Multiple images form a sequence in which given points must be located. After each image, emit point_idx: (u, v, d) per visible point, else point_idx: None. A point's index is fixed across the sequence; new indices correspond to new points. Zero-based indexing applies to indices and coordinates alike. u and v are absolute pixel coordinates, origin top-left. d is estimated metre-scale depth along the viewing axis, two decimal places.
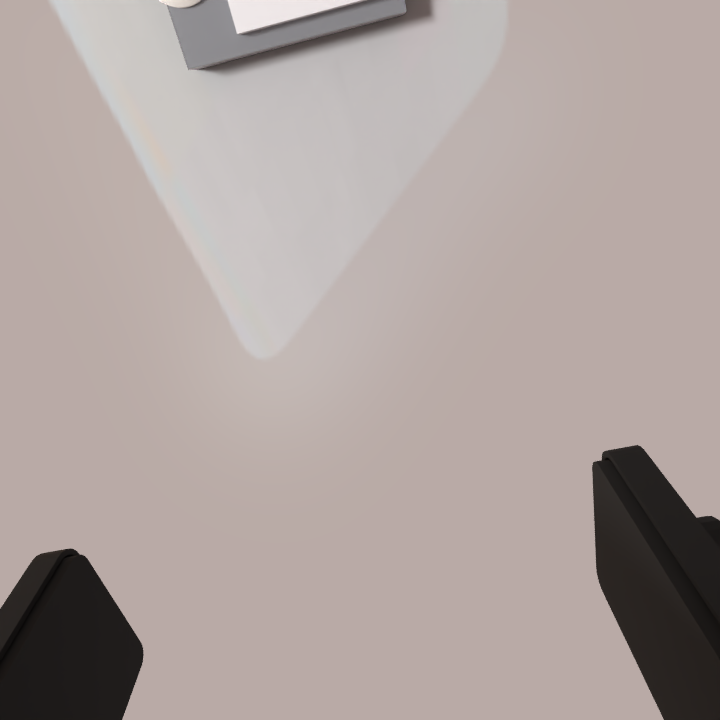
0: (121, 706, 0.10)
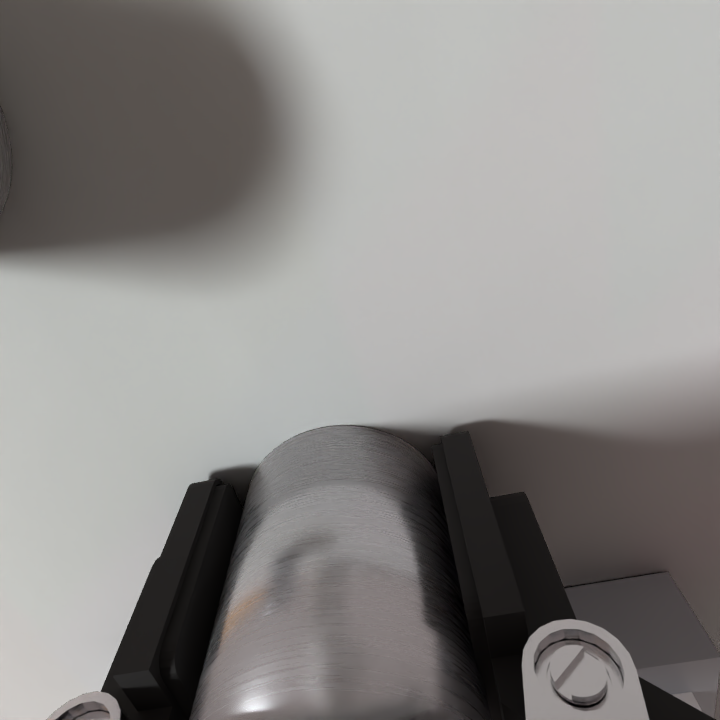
0: None
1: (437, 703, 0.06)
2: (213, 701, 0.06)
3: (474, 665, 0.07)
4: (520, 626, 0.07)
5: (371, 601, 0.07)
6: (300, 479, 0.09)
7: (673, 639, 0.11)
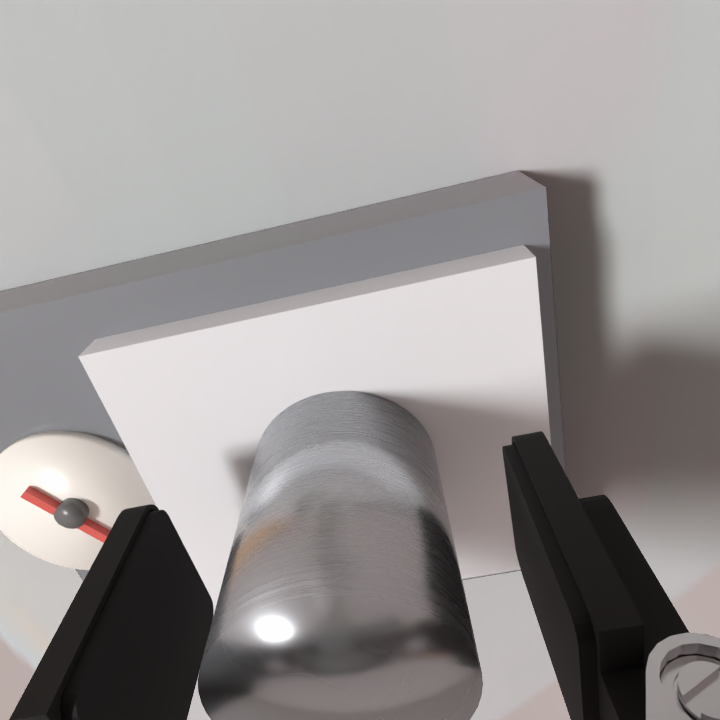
0: (199, 654, 0.10)
1: (425, 609, 0.07)
2: (231, 612, 0.07)
3: (459, 589, 0.08)
4: (637, 640, 0.06)
5: (369, 529, 0.08)
6: (304, 435, 0.10)
7: (504, 190, 0.11)
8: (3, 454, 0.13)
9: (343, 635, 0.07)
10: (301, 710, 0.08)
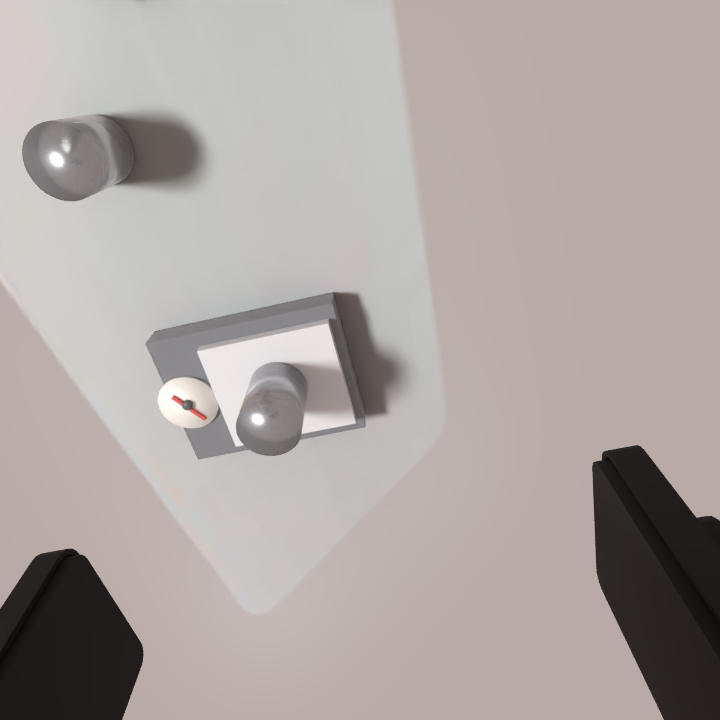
0: (121, 706, 0.10)
1: (285, 405, 0.33)
2: (243, 408, 0.33)
3: (298, 407, 0.34)
4: None
5: (275, 391, 0.34)
6: (263, 373, 0.36)
7: (322, 302, 0.36)
8: (167, 383, 0.38)
9: (268, 412, 0.33)
10: (260, 434, 0.34)
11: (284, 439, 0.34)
